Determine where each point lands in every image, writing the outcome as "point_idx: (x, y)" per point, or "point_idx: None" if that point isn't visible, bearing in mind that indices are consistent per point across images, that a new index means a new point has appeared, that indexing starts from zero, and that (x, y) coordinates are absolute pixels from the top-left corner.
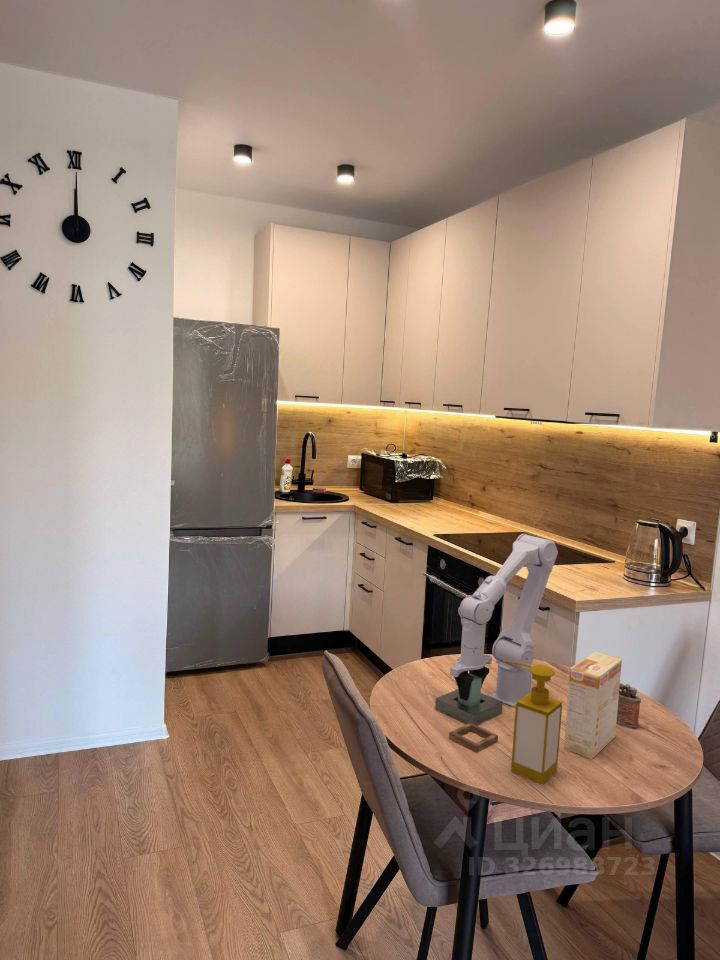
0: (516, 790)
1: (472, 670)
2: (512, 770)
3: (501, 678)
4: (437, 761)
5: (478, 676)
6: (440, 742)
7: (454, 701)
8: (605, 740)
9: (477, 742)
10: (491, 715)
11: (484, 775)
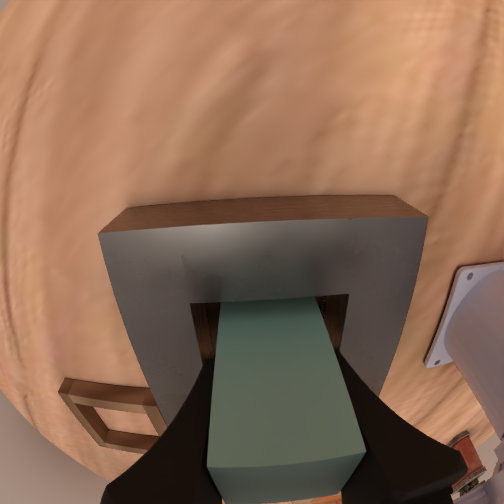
0: (111, 478)
1: (369, 490)
2: None
3: (497, 381)
4: (16, 396)
5: (348, 484)
6: (38, 371)
7: (179, 327)
8: None
9: (109, 443)
10: None
11: (82, 453)
